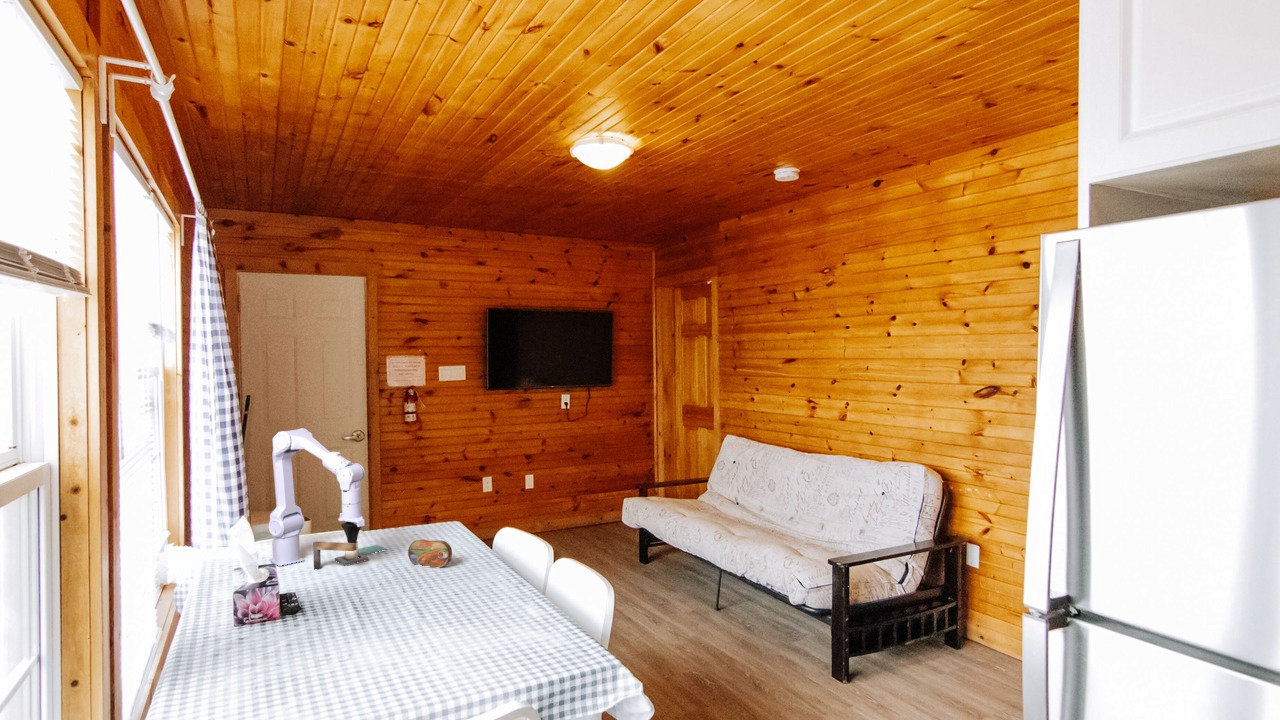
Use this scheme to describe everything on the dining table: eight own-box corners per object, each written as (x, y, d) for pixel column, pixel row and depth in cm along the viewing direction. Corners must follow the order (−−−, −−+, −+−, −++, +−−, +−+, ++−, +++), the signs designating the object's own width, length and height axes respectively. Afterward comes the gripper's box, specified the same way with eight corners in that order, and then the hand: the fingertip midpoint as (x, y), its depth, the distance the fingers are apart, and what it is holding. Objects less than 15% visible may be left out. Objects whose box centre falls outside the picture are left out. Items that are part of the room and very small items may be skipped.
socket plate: (334, 560, 225) (334, 557, 225) (358, 555, 230) (358, 552, 230) (344, 565, 219) (344, 562, 219) (368, 560, 225) (368, 557, 225)
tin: (407, 565, 219) (407, 539, 218) (413, 562, 222) (413, 537, 221) (448, 569, 214) (447, 542, 214) (454, 566, 217) (453, 540, 217)
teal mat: (354, 551, 235) (354, 549, 235) (376, 546, 241) (376, 544, 241) (364, 555, 230) (364, 554, 230) (387, 550, 235) (387, 549, 235)
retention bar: (312, 569, 216) (311, 543, 216) (316, 567, 218) (315, 541, 218) (353, 571, 213) (352, 544, 213) (357, 569, 215) (356, 543, 215)
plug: (343, 560, 225) (342, 542, 225) (355, 557, 228) (354, 540, 227) (348, 563, 222) (347, 545, 222) (360, 560, 225) (359, 542, 225)
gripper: (329, 501, 219) (330, 543, 219) (348, 508, 209) (349, 552, 209) (351, 497, 224) (352, 538, 224) (370, 504, 214) (371, 547, 214)
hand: (352, 545), depth 217 cm, fingers closed, pressing on retention bar
